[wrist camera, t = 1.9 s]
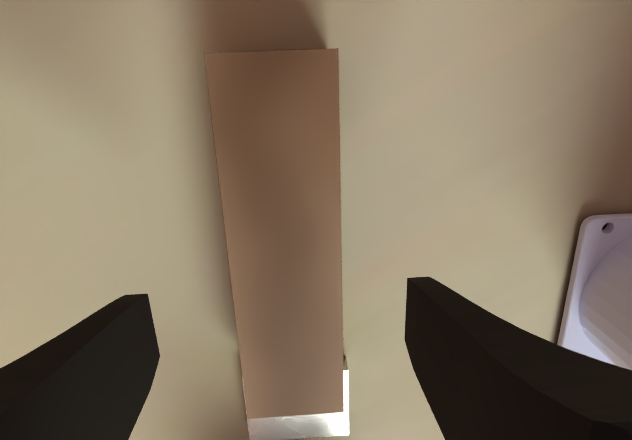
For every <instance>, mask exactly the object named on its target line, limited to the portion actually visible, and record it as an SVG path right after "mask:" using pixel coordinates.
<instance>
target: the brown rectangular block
mask: <svg viewBox="0 0 632 440" xmlns="http://www.w3.org/2000/svg"><path fill="white" fill-rule="evenodd" d="M204 58H205V67H206V75H207V83H208V92H209V100H210V109H211V117H212V125H213V134H214V142H215V151H216V159H217V167H218V176H219V184H220V193H221V201H222V209H223V218H224V226H225V235H226V243H227V251H228V260H229V268H230V277H231V285H232V293H233V302H234V310H235V319H236V327H237V335H238V344H239V352H240V361H241V369H242V381H243V389H244V397H245V406H246V414H247V422H248V431H249V439H250V440H286V439H299V438H313V437H327V436H340V435H349V388H348V366H347V361H346V358H343V314H342V250H341V187H340V123H339V60H338V48H337V49H310V50H282V51H254V52H226V53H204Z"/></svg>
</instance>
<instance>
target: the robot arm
mask: <svg viewBox="0 0 632 440" xmlns="http://www.w3.org/2000/svg"><path fill="white" fill-rule="evenodd" d="M606 223H607V226H606V228H605V229H604V230H602V227H603V225H605V224H606ZM405 342H406V346H407V349H408V353H409V356H410V359H411V363H412V366H413V369H414V372H415V374H416V376H417V379H418V381H419V383H420V385H421V388H422V390H423V392H424V394H425V397H426V399H427V401H428V403H429V405H430V407H431V410H432V412H433V414H434V416H435V418H436V421H437V423H438V425H439V427H440V429H441V431H442V434H443V436H444V438H445V440H632V213H627V214H608V215H593V216H589V217H587V218H586V219H585V220H584V221H583V222H582V224H581V226H580V231H579V237H578V242H577V247H576V252H575V257H574V262H573V267H572V272H571V277H570V282H569V287H568V292H567V297H566V303H565V308H564V313H563V318H562V323H561V328H560V333H559V338H558V343H557V345H556V344H554V343H552V342H549V341H547V340H545V339H543V338H540V337H538V336H536V335H533V334H531V333H529V332H527V331H525V330H522V329H520V328H518V327H516V326H514V325H512V324H511V323H509V322H507V321H505V320H503V319H501V318H499V317H497V316H495V315H493V314H492V313H490V312H488V311H486V310H485V309H483V308H481V307H479V306H478V305H476V304H474V303H473V302H471V301H469V300H468V299H466V298H464V297H463V296H461V295H459V294H458V293H456V292H455V291H453V290H451V289H450V288H448V287H446V286H445V285H443V284H441V283H440V282H438V281H436V280H435V279H433V278H431V277H416V278H407V299H406V321H405ZM159 358H160V353H159V348H158V343H157V338H156V333H155V328H154V323H153V318H152V313H151V308H150V303H149V298H148V294H135V295H124V296H122V297H120V298H118V299H116V300H115V301H113V302H111V303H109V304H108V305H106V306H105V307H103V308H101V309H100V310H98V311H97V312H95V313H93V314H92V315H90V316H89V317H87V318H86V319H84V320H82V321H81V322H79V323H78V324H76V325H74V326H73V327H71V328H70V329H68V330H67V331H65V332H63V333H62V334H60V335H58V336H57V337H55V338H53V339H52V340H50V341H48V342H47V343H45V344H43V345H41V346H40V347H38V348H36V349H35V350H33V351H31V352H30V353H28V354H26V355H24V356H23V357H21V358H19V359H17V360H15V361H14V362H12V363H10V364H8V365H6V366H4V367H2V368H0V440H128V439H129V437H130V434H131V432H132V430H133V428H134V426H135V423H136V421H137V419H138V417H139V414H140V412H141V410H142V408H143V405H144V403H145V401H146V398H147V396H148V394H149V391H150V389H151V386H152V382H153V379H154V376H155V372H156V369H157V365H158V361H159Z"/></svg>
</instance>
